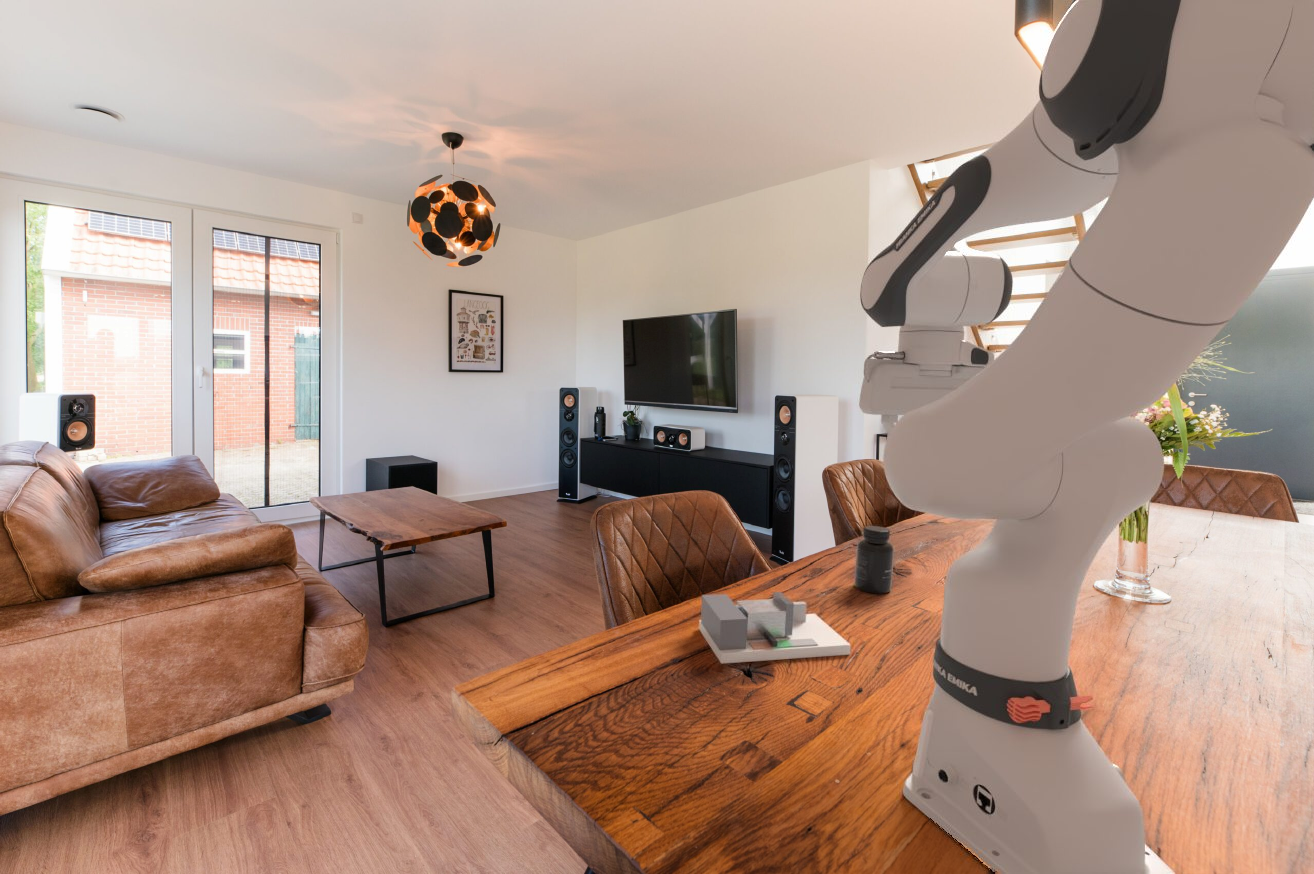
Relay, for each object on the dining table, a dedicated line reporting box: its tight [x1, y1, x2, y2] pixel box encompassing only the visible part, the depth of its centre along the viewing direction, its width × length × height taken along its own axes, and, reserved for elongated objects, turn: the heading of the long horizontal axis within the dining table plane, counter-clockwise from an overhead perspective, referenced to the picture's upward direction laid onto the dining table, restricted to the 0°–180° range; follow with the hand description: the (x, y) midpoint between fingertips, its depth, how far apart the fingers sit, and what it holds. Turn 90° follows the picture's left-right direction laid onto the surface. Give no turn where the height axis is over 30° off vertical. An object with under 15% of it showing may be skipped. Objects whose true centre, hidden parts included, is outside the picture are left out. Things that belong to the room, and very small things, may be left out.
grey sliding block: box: [736, 591, 794, 647], centre depth 94 cm, size 8×7×5 cm
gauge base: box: [698, 593, 852, 664], centre depth 96 cm, size 12×20×6 cm, turn 102°
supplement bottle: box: [854, 525, 895, 595], centre depth 121 cm, size 7×7×12 cm
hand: (922, 445), depth 93 cm, fingers open, 8 cm apart
